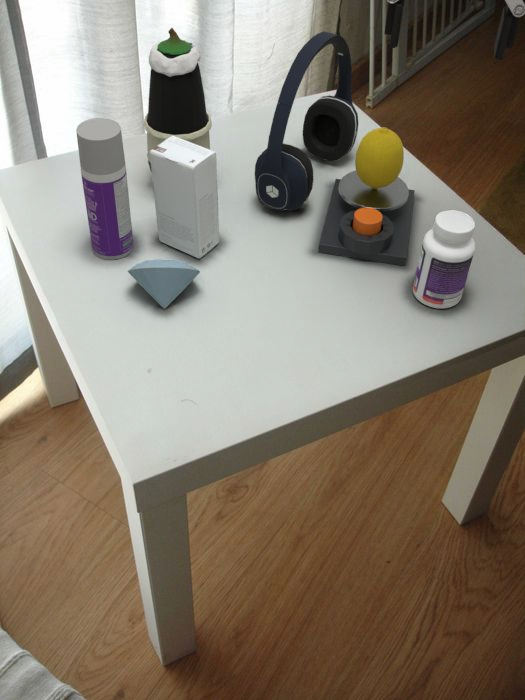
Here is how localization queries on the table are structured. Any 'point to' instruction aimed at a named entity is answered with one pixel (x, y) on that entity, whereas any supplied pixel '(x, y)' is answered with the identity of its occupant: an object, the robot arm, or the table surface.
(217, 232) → the cosmetic box
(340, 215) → the scale
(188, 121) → the toy
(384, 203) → the scale pan
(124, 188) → the container
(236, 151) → the table surface
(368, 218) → the tare button
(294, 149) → the earphone
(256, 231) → the table surface
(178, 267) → the gemstone
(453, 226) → the pill bottle
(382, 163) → the lemon
